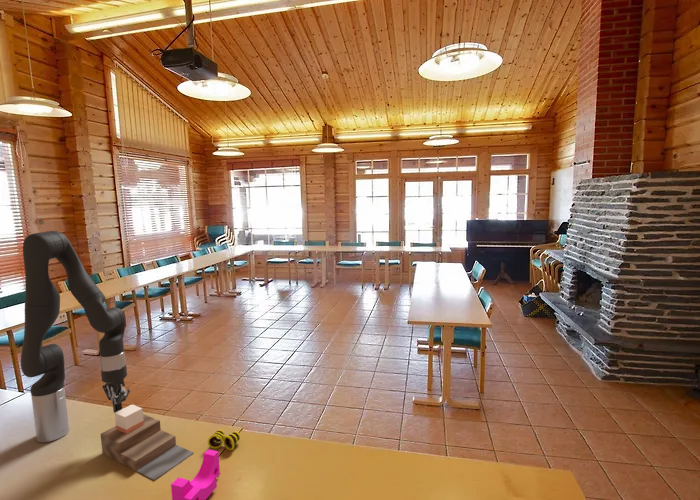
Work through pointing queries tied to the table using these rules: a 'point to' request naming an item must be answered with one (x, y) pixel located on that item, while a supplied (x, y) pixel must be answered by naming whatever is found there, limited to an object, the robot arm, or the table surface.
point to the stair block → (144, 448)
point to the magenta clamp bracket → (199, 480)
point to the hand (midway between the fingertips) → (118, 412)
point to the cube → (129, 418)
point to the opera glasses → (223, 440)
